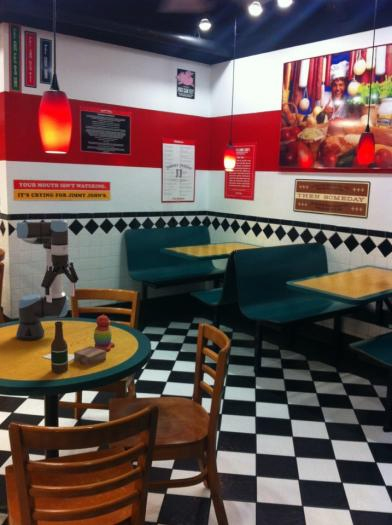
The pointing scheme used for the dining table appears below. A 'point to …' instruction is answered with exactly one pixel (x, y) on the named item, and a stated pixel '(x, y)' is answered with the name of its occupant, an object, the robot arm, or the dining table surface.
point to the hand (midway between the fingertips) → (60, 299)
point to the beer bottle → (59, 351)
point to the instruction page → (70, 357)
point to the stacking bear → (103, 334)
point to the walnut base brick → (90, 356)
